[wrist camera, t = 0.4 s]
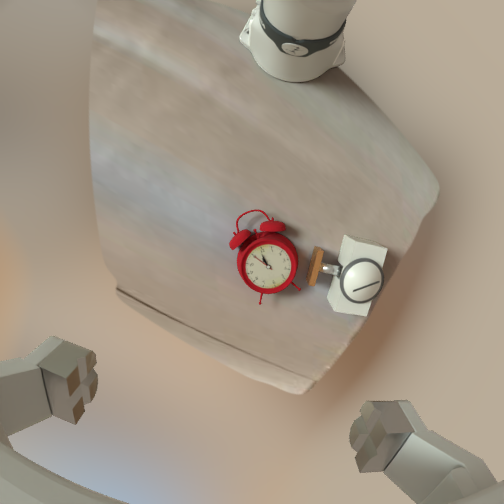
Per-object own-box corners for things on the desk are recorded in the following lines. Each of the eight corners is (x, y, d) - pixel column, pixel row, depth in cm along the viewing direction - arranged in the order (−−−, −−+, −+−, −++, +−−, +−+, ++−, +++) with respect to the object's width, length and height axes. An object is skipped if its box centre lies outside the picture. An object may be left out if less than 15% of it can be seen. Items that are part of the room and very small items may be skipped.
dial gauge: (340, 233, 51) (352, 240, 45) (378, 242, 52) (393, 250, 45) (322, 297, 54) (331, 312, 47) (359, 303, 54) (372, 318, 48)
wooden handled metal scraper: (314, 246, 51) (318, 250, 48) (349, 253, 51) (354, 258, 48) (305, 279, 52) (308, 285, 49) (340, 286, 52) (344, 291, 49)
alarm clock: (252, 311, 51) (216, 234, 45) (249, 291, 57) (217, 220, 50) (310, 290, 50) (283, 209, 44) (302, 272, 56) (276, 198, 49)
